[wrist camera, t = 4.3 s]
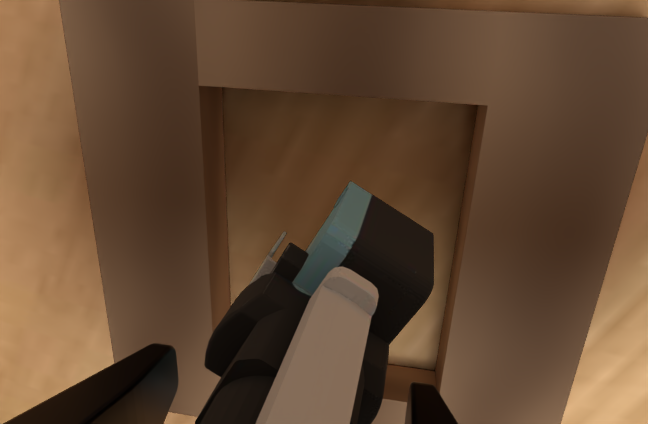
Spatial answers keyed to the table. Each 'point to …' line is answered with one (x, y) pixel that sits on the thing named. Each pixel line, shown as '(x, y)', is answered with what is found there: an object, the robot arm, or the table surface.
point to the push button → (321, 320)
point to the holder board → (377, 82)
